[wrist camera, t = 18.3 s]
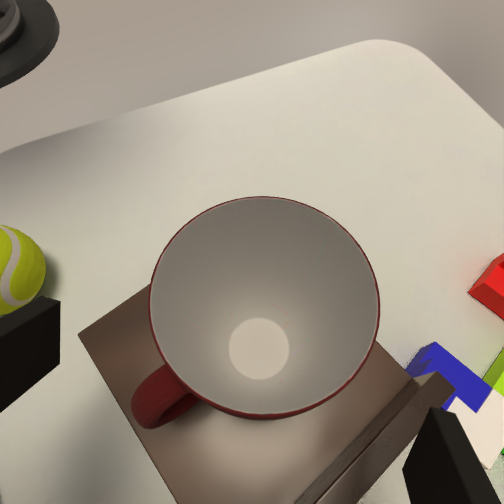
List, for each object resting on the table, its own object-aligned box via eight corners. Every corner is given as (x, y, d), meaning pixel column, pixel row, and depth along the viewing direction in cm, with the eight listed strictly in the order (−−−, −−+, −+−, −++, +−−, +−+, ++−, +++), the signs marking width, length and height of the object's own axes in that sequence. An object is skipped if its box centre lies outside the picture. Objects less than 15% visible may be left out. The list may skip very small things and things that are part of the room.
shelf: (106, 350, 26) (51, 320, 19) (251, 245, 30) (251, 187, 23) (240, 566, 20) (234, 643, 13) (396, 400, 24) (457, 389, 17)
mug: (223, 498, 17) (194, 572, 8) (130, 378, 20) (33, 338, 11) (353, 349, 21) (429, 291, 12) (258, 263, 23) (262, 162, 14)
